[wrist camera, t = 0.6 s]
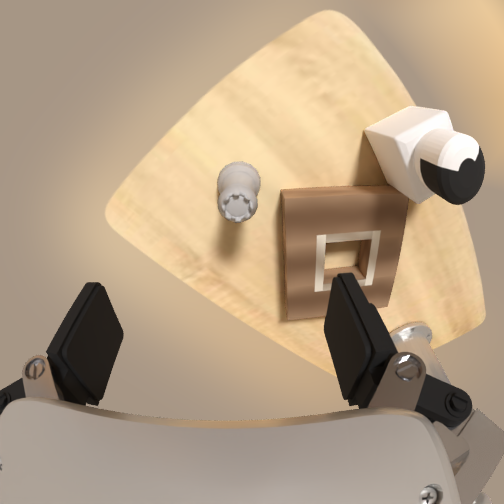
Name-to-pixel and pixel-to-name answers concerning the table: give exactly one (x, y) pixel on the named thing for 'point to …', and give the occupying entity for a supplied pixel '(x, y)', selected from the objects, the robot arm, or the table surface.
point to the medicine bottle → (427, 155)
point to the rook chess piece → (238, 191)
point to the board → (338, 230)
